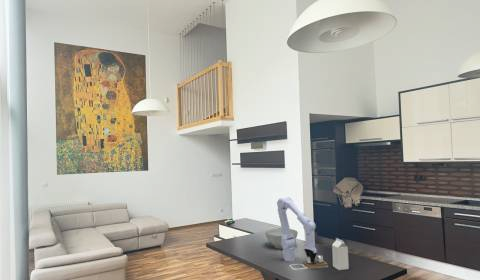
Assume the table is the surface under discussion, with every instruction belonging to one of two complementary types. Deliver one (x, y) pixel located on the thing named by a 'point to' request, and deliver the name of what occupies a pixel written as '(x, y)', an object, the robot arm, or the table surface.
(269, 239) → the decorative bowl
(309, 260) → the cylinder
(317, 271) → the table surface
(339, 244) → the milk carton
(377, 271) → the table surface
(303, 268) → the square tray
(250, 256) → the table surface
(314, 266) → the wooden compartment tray
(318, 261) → the cylinder
